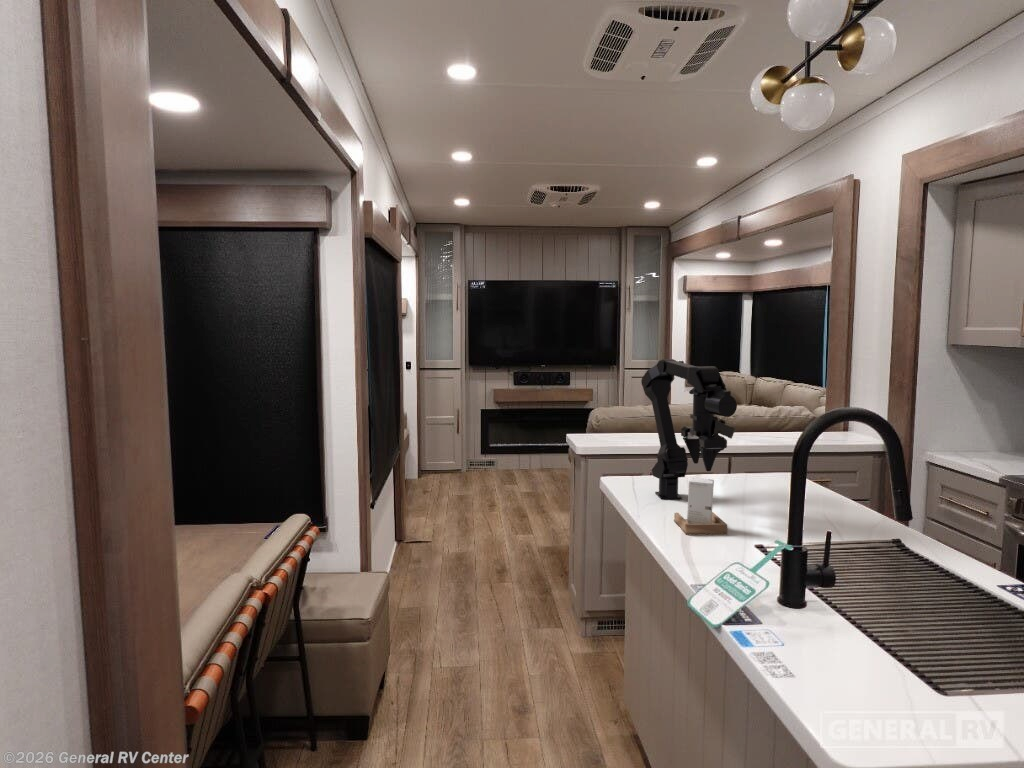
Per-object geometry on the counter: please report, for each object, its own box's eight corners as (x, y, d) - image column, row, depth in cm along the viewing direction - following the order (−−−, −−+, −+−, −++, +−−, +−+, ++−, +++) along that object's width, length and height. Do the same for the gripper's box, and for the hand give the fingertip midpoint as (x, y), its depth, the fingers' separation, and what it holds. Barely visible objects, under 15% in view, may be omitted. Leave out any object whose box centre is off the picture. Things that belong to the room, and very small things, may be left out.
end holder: (673, 521, 159) (673, 512, 159) (711, 520, 160) (712, 511, 159) (686, 534, 149) (686, 525, 149) (727, 534, 149) (727, 524, 149)
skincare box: (686, 526, 153) (687, 480, 152) (688, 521, 158) (689, 476, 156) (711, 529, 151) (712, 483, 150) (712, 524, 155) (714, 479, 154)
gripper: (747, 416, 155) (745, 475, 156) (718, 406, 173) (716, 459, 175) (705, 417, 154) (704, 475, 156) (681, 407, 173) (679, 459, 174)
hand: (702, 467), depth 165 cm, fingers open, 9 cm apart
